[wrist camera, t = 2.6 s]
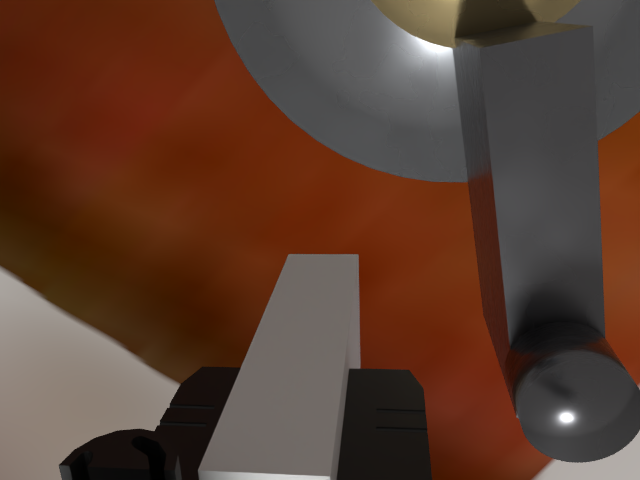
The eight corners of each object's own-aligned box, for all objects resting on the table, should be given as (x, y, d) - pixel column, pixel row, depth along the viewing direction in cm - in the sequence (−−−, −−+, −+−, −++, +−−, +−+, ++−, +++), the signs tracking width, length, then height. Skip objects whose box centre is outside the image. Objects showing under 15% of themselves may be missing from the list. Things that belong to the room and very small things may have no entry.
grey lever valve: (232, -197, 17) (116, -356, 10) (724, -335, 15) (1059, -673, 8) (343, 332, 23) (324, 486, 16) (707, 287, 21) (885, 440, 13)
